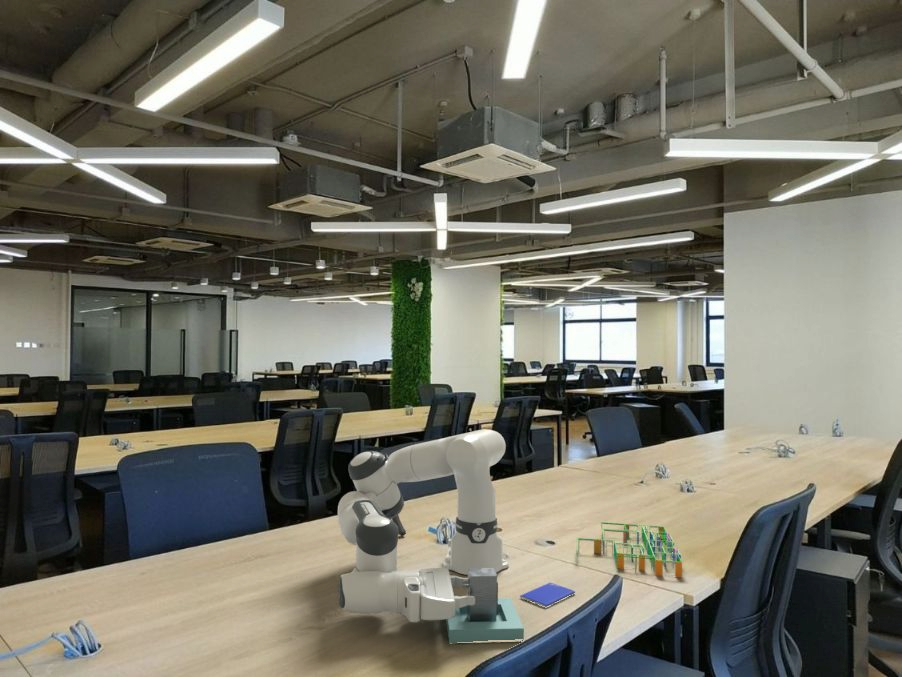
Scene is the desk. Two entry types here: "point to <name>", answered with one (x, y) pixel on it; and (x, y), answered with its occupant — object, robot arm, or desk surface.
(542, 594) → the blue book
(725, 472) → the desk surface
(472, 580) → the block
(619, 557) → the house model
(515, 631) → the tray
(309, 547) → the desk surface
